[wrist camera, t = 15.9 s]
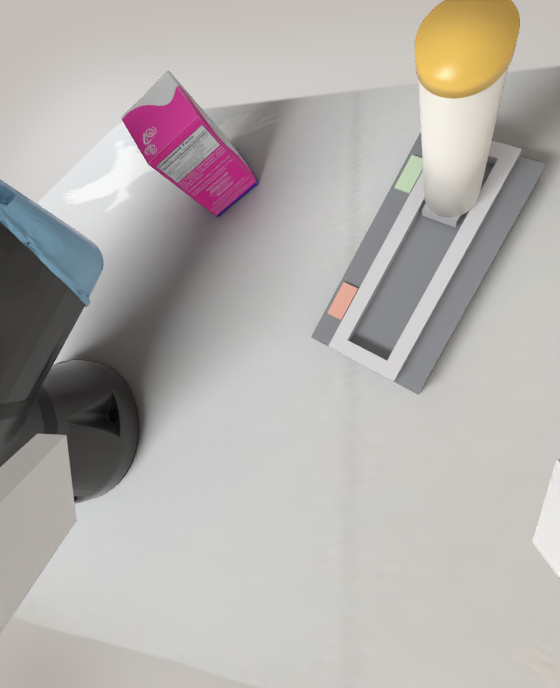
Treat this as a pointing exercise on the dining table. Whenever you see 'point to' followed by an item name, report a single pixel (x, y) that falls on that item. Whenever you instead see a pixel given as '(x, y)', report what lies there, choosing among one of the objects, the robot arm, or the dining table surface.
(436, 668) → the dining table surface
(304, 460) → the dining table surface
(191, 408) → the dining table surface
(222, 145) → the supplement box
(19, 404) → the robot arm
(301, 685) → the dining table surface
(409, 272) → the switch panel
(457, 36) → the switch handle
